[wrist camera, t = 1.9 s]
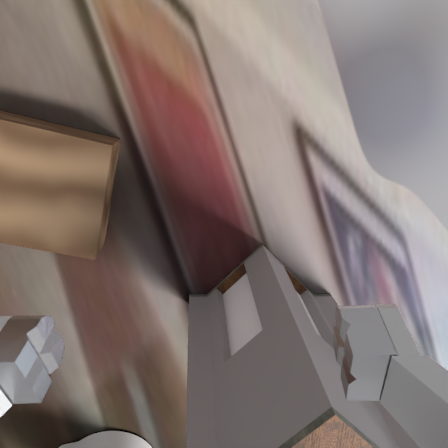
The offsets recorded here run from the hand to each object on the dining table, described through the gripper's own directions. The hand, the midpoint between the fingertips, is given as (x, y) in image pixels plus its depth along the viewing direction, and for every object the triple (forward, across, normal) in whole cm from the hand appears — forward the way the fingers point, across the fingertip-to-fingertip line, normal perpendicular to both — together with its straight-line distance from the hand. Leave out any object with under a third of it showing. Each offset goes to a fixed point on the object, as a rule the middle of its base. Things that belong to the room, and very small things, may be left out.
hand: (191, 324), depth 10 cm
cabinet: (+33, +2, -27) cm, 43 cm away
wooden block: (+32, -22, -10) cm, 41 cm away
